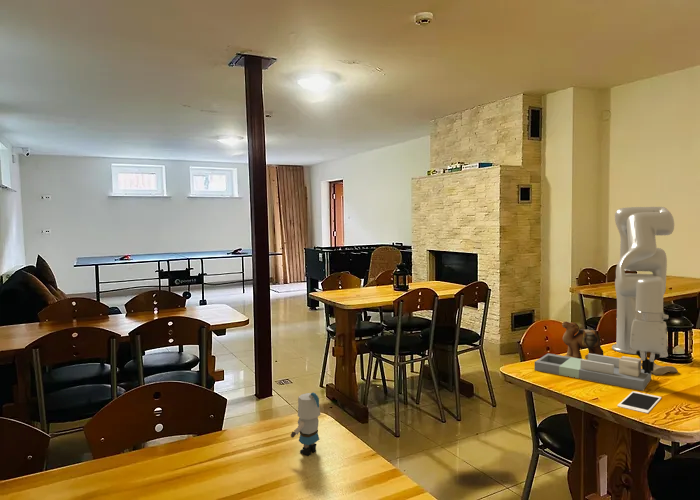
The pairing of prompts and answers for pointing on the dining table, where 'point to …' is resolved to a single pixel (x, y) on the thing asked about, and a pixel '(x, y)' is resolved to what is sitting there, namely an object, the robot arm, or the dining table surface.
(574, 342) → the figurine
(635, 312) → the robot arm
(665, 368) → the pottery shard
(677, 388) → the dining table surface
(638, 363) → the block
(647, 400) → the black and white tile
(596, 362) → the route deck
